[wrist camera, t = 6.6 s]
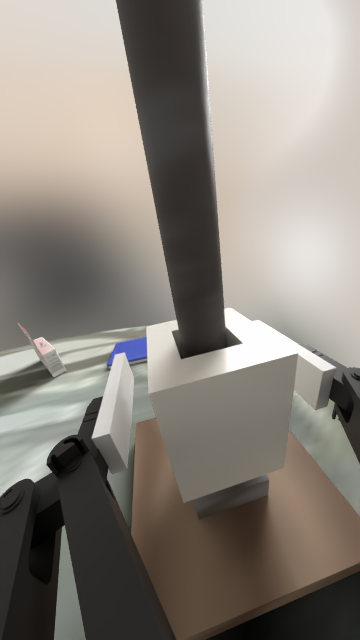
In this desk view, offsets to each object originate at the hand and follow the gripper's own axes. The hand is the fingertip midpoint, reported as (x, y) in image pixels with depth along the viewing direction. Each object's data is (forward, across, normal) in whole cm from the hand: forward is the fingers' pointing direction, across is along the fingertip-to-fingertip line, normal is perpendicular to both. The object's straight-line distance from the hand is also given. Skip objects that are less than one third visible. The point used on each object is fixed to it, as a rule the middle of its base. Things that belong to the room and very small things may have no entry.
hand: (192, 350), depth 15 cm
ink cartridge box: (+23, -26, -11) cm, 36 cm away
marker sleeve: (-4, 0, -4) cm, 6 cm away
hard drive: (+20, -7, -11) cm, 24 cm away
